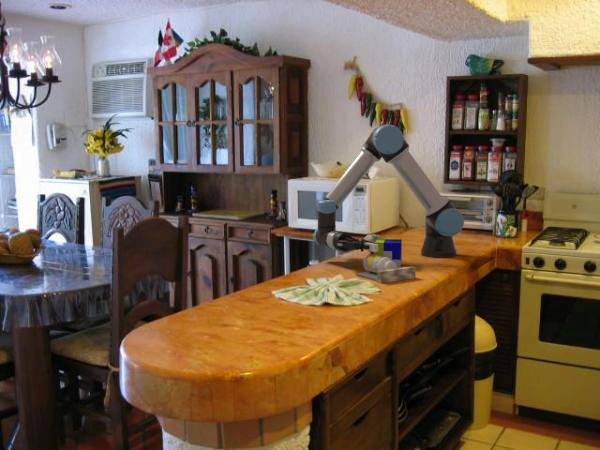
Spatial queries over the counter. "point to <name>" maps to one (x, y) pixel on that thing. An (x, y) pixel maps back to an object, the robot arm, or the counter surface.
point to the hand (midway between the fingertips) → (376, 248)
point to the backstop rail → (395, 274)
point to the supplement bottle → (378, 263)
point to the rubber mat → (368, 275)
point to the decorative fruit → (372, 239)
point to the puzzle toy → (390, 250)
